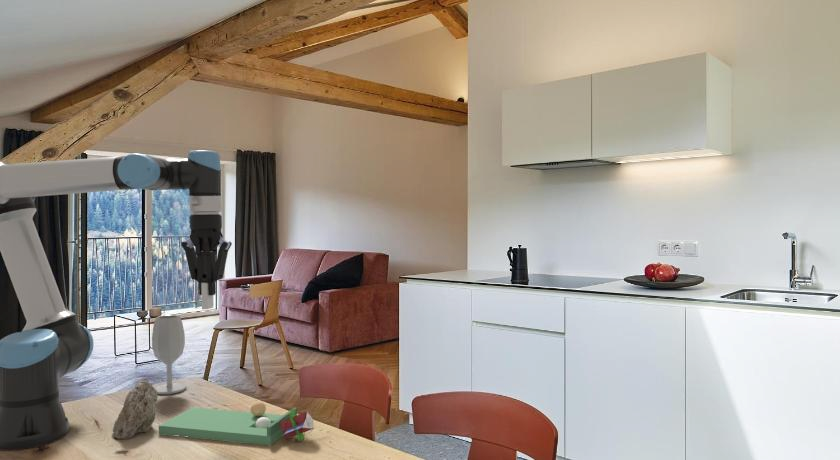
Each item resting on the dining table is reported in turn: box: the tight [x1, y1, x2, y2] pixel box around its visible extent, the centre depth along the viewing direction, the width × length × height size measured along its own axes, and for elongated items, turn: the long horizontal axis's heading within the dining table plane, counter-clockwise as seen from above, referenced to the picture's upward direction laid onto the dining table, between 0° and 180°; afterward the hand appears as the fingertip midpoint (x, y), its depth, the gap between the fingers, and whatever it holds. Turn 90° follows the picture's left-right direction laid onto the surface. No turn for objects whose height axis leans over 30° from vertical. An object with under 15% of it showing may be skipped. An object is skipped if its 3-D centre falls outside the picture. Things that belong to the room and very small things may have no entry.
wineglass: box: [151, 314, 188, 395], centre depth 173 cm, size 9×9×21 cm
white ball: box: [255, 417, 271, 429], centre depth 141 cm, size 4×4×4 cm
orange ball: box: [250, 400, 267, 417], centre depth 146 cm, size 4×4×4 cm
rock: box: [112, 380, 158, 440], centre depth 143 cm, size 14×10×8 cm
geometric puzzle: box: [279, 407, 315, 444], centre depth 137 cm, size 7×7×8 cm
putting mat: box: [158, 407, 298, 446], centre depth 143 cm, size 28×13×4 cm, turn 76°
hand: (207, 308), depth 154 cm, fingers closed
